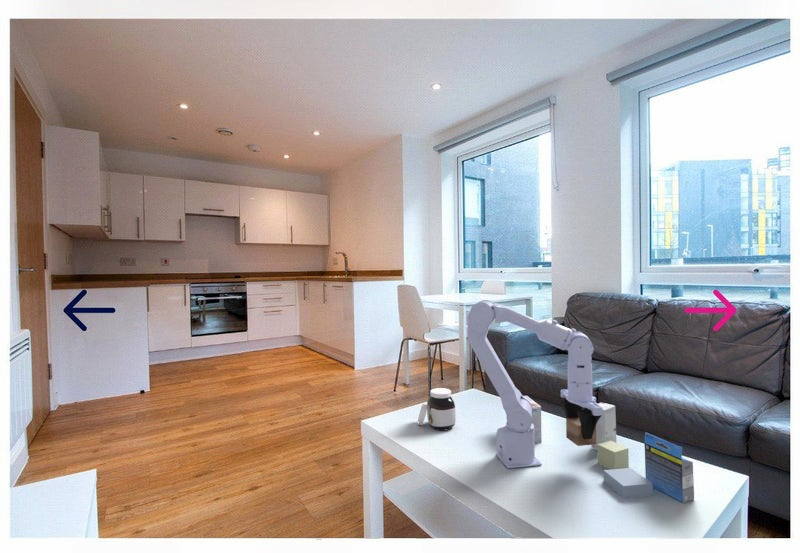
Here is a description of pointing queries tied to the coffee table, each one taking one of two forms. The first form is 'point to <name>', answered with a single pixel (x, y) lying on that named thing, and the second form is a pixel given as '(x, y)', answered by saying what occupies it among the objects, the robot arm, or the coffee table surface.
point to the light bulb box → (536, 420)
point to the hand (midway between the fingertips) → (580, 433)
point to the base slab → (628, 482)
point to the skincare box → (606, 425)
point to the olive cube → (613, 455)
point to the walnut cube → (578, 433)
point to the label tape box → (668, 469)
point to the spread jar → (439, 409)
